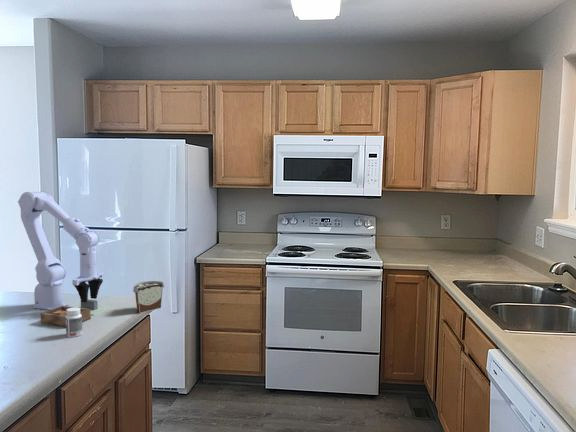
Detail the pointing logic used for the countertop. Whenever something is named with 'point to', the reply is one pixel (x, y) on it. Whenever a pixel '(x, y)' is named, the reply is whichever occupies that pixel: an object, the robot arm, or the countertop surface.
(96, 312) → the lid
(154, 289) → the food container
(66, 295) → the countertop surface
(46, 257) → the robot arm
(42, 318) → the crate
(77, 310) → the pill bottle
